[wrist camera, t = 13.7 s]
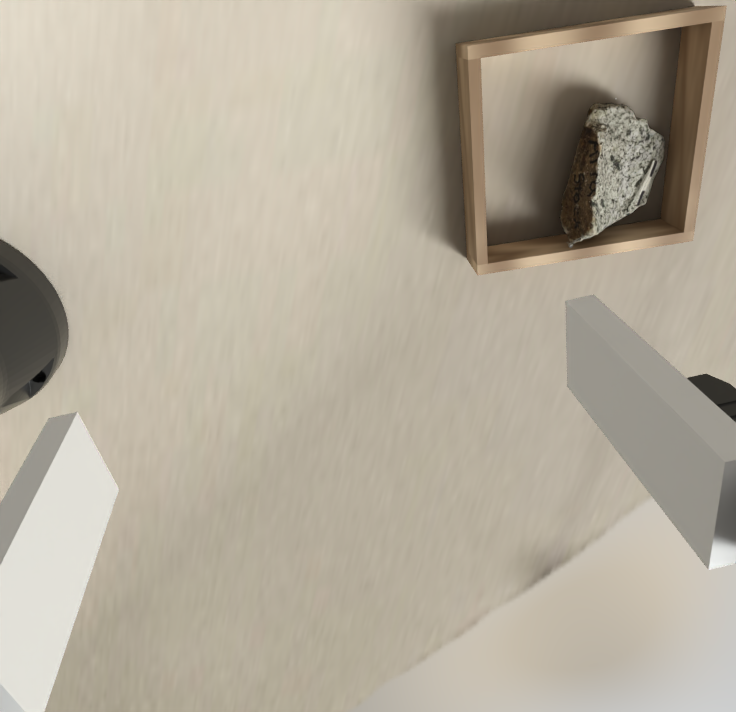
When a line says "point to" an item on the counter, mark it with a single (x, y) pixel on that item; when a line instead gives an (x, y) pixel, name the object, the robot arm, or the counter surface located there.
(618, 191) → the rock sample
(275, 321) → the counter surface
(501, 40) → the tray
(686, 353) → the counter surface
